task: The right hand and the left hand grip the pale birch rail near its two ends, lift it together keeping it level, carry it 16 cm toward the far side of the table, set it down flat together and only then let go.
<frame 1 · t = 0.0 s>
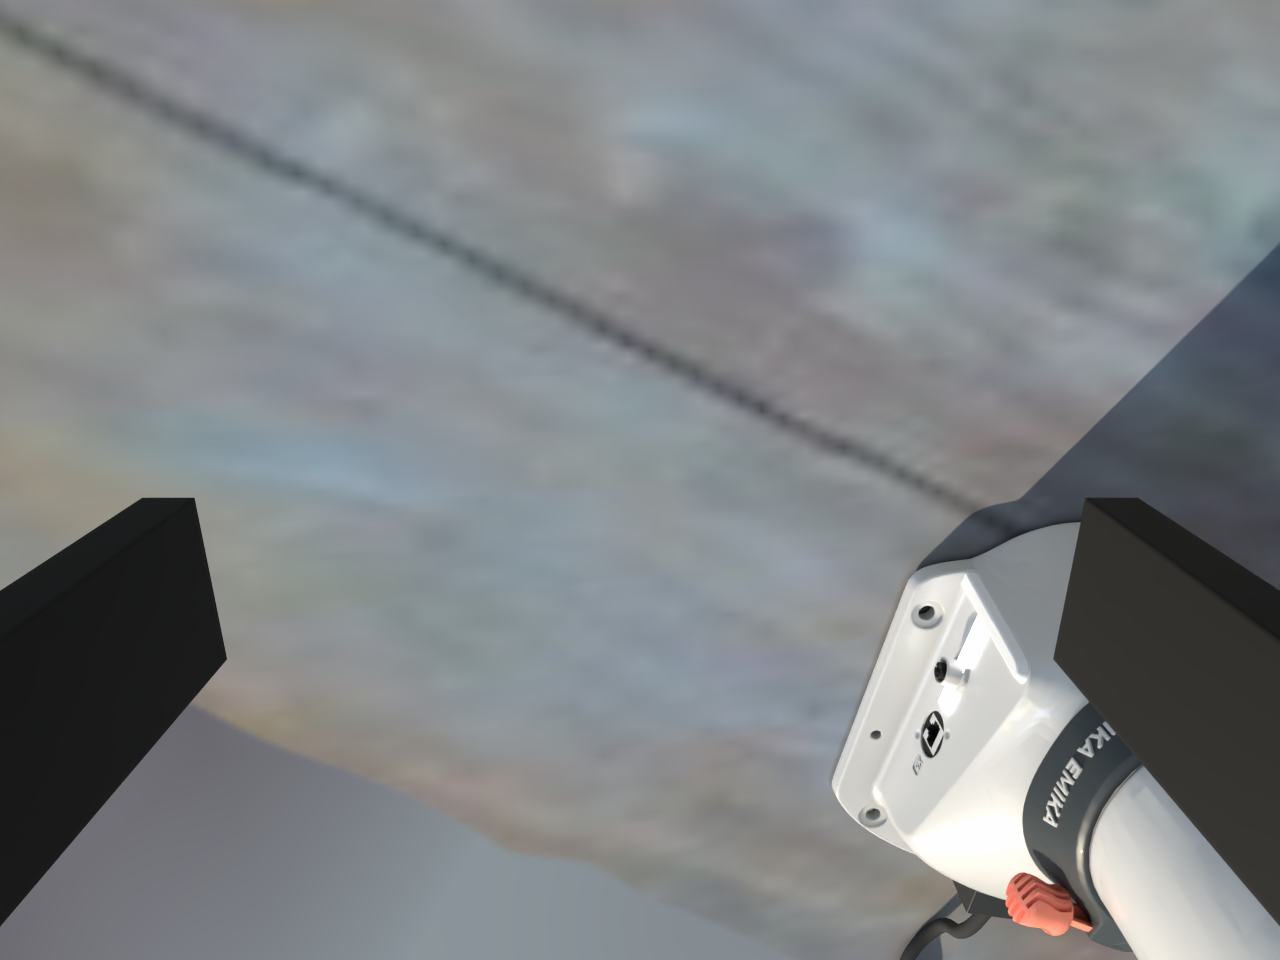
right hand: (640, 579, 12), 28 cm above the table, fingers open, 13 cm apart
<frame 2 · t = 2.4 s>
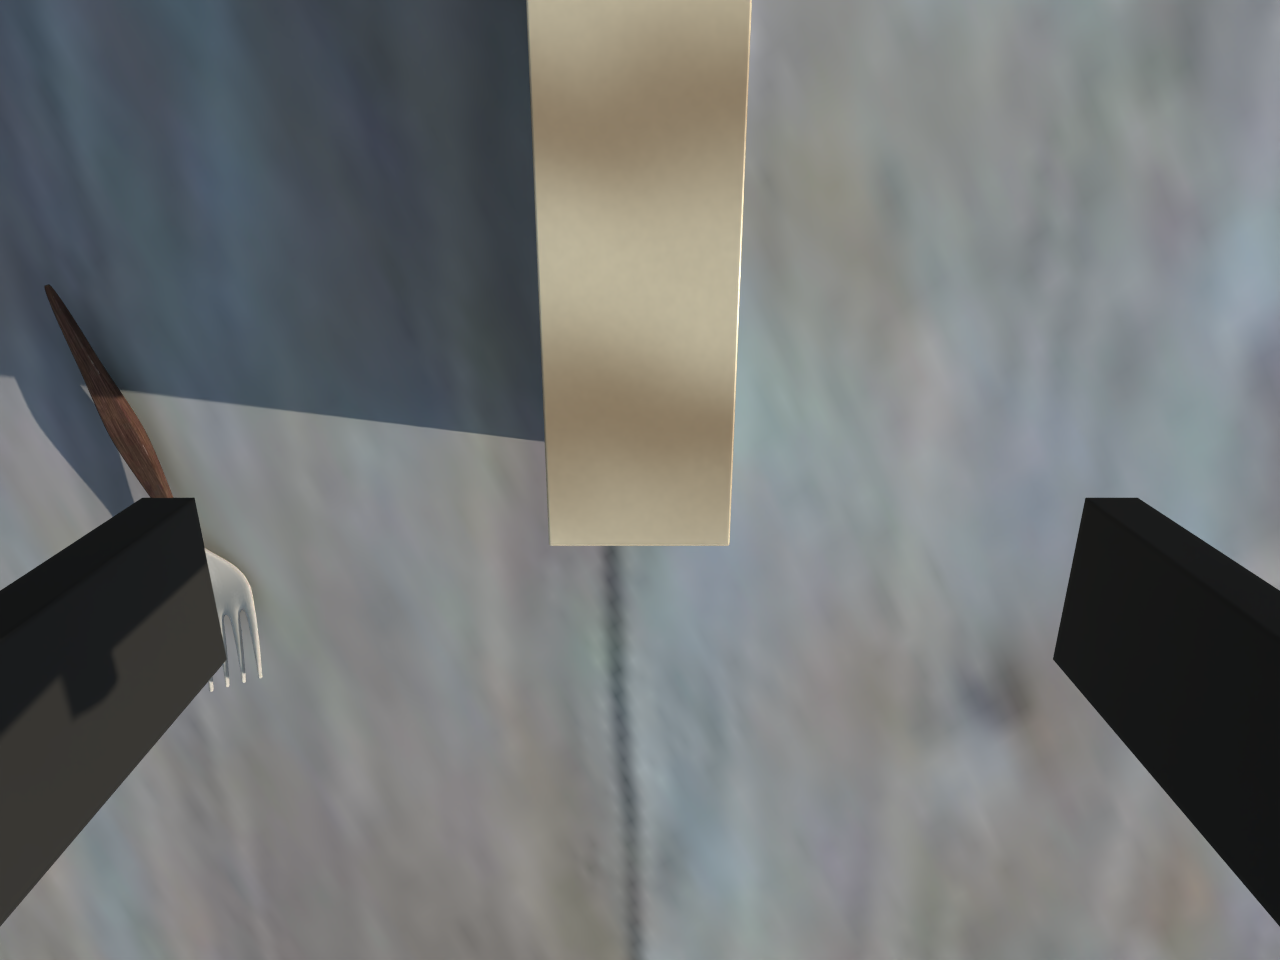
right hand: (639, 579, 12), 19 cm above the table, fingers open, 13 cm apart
fork: (168, 484, 32), on the table
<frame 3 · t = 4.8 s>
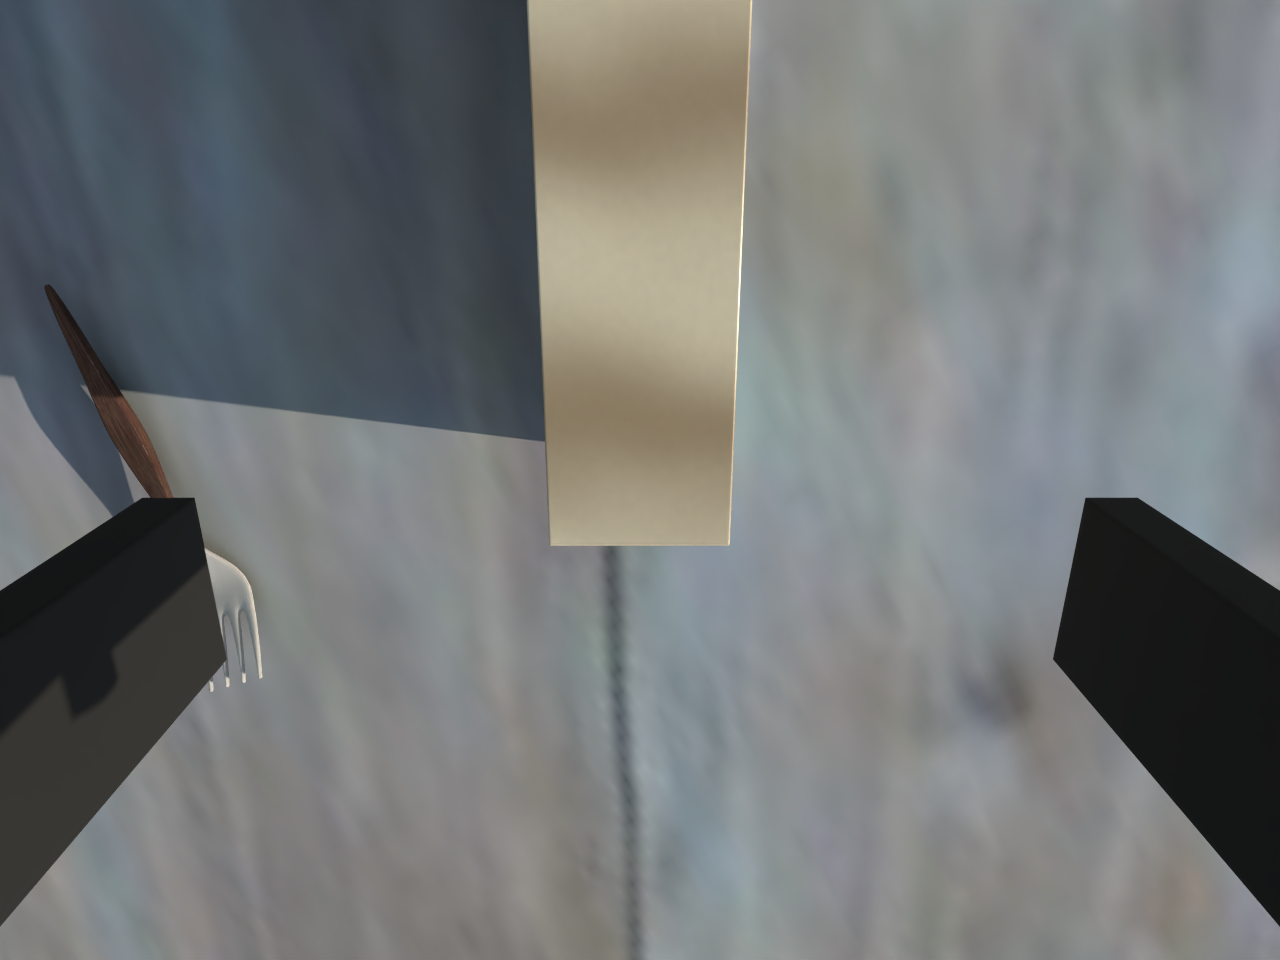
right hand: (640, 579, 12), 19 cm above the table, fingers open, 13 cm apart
fork: (168, 484, 32), on the table
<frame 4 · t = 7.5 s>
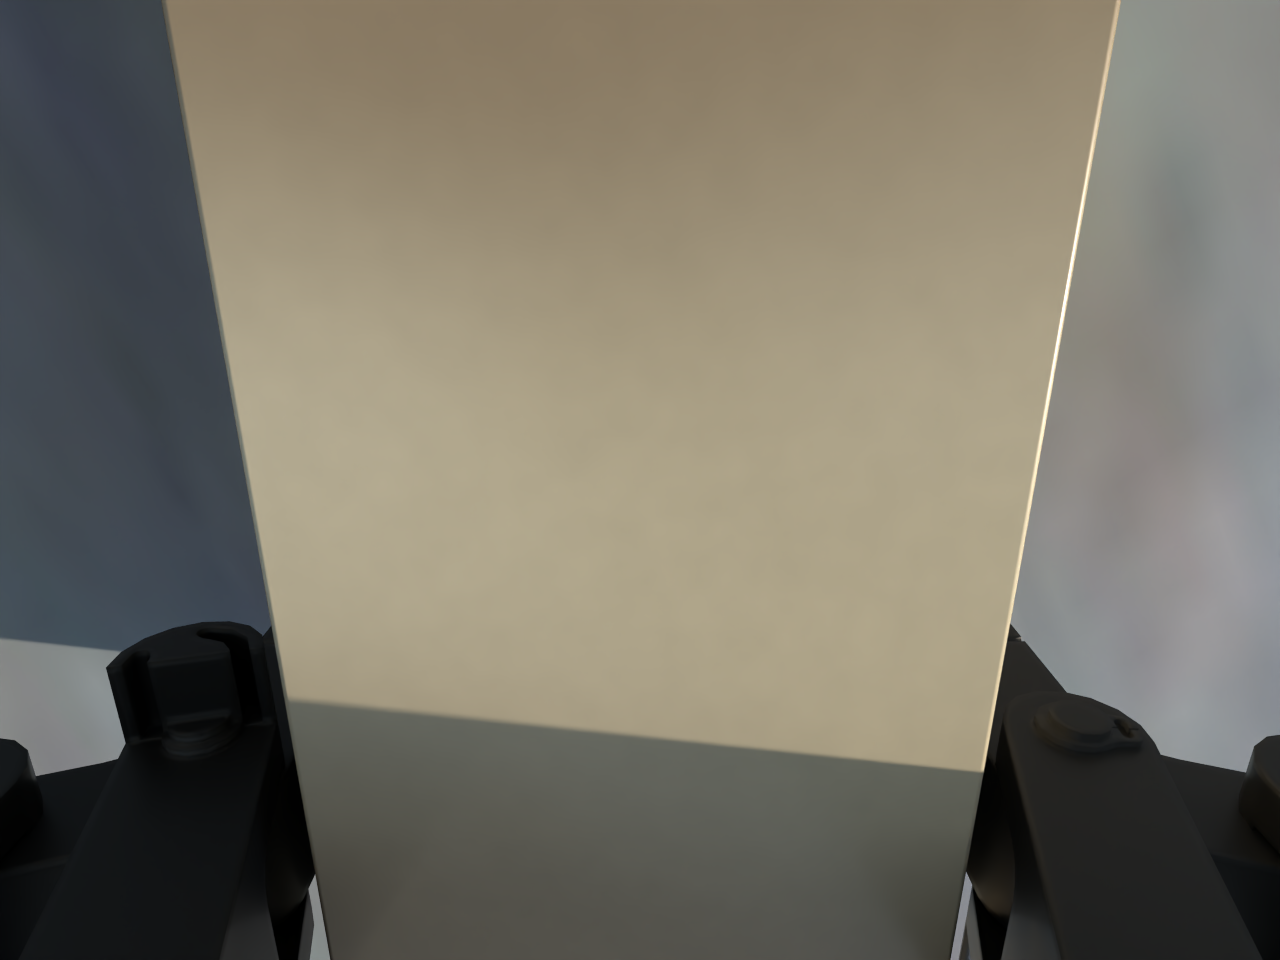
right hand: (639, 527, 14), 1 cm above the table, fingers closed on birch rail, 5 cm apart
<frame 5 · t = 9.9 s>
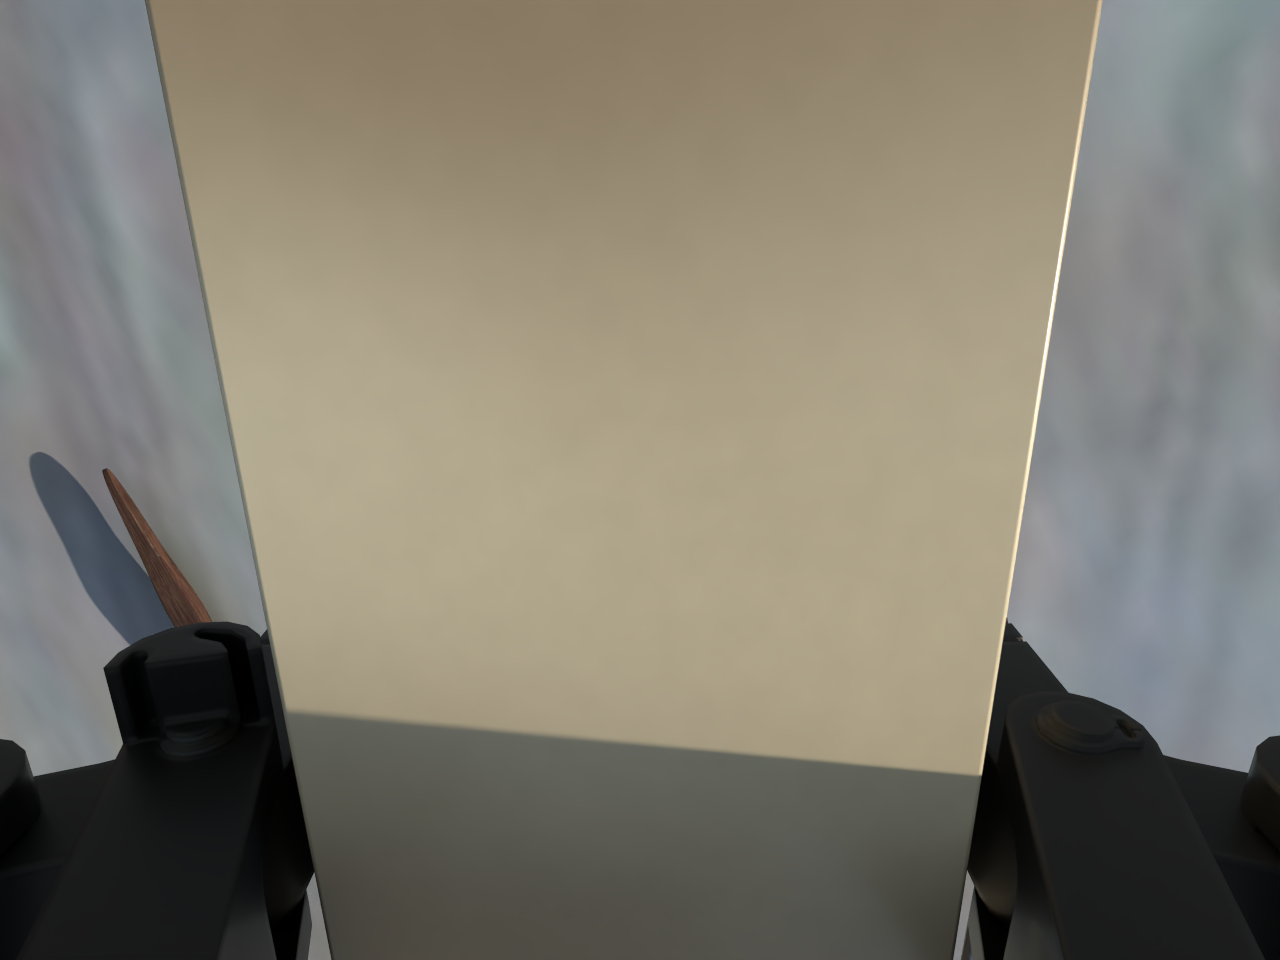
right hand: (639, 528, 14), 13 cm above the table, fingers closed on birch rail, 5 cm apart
fork: (228, 658, 30), on the table
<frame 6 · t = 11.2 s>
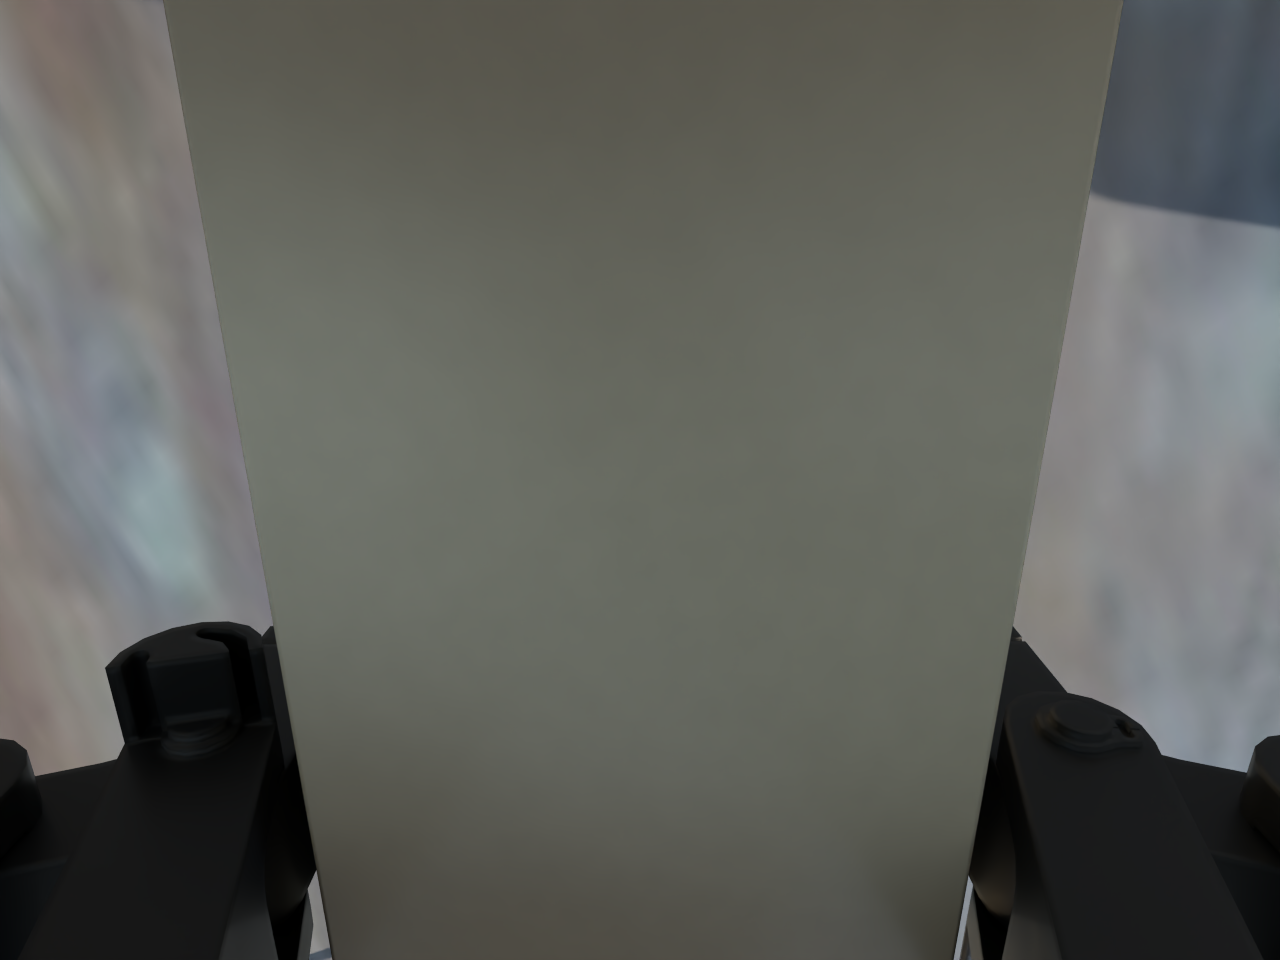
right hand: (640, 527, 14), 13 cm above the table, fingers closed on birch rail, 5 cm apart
when the right hand's fingers open (1 cm above the table, at t = 14.9 s): birch rail stays where it is, on the table.
when the left hand's fingers open (4 cm above the table, at t = 15.1 s): birch rail stays where it is, on the table.
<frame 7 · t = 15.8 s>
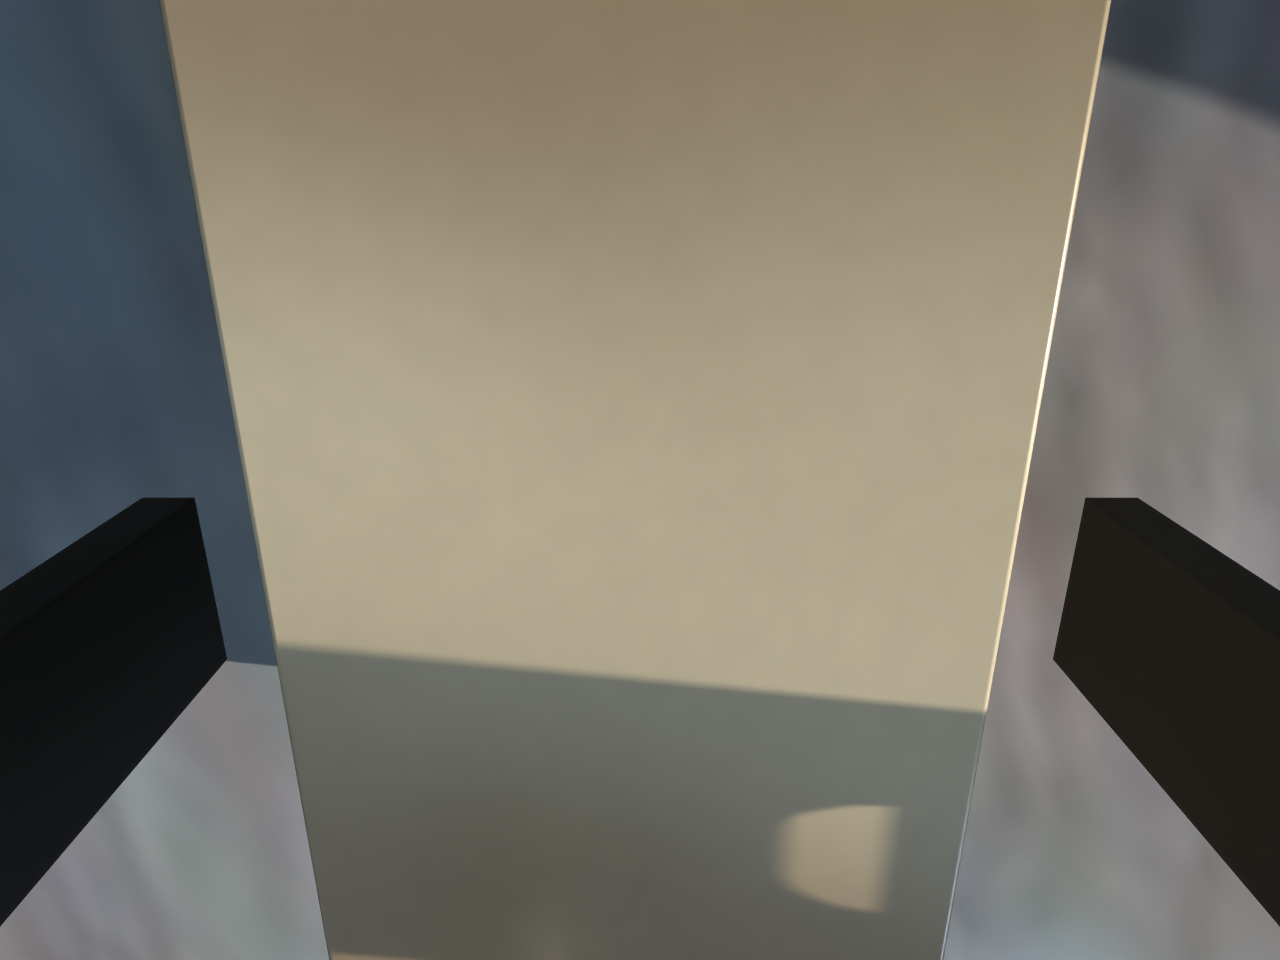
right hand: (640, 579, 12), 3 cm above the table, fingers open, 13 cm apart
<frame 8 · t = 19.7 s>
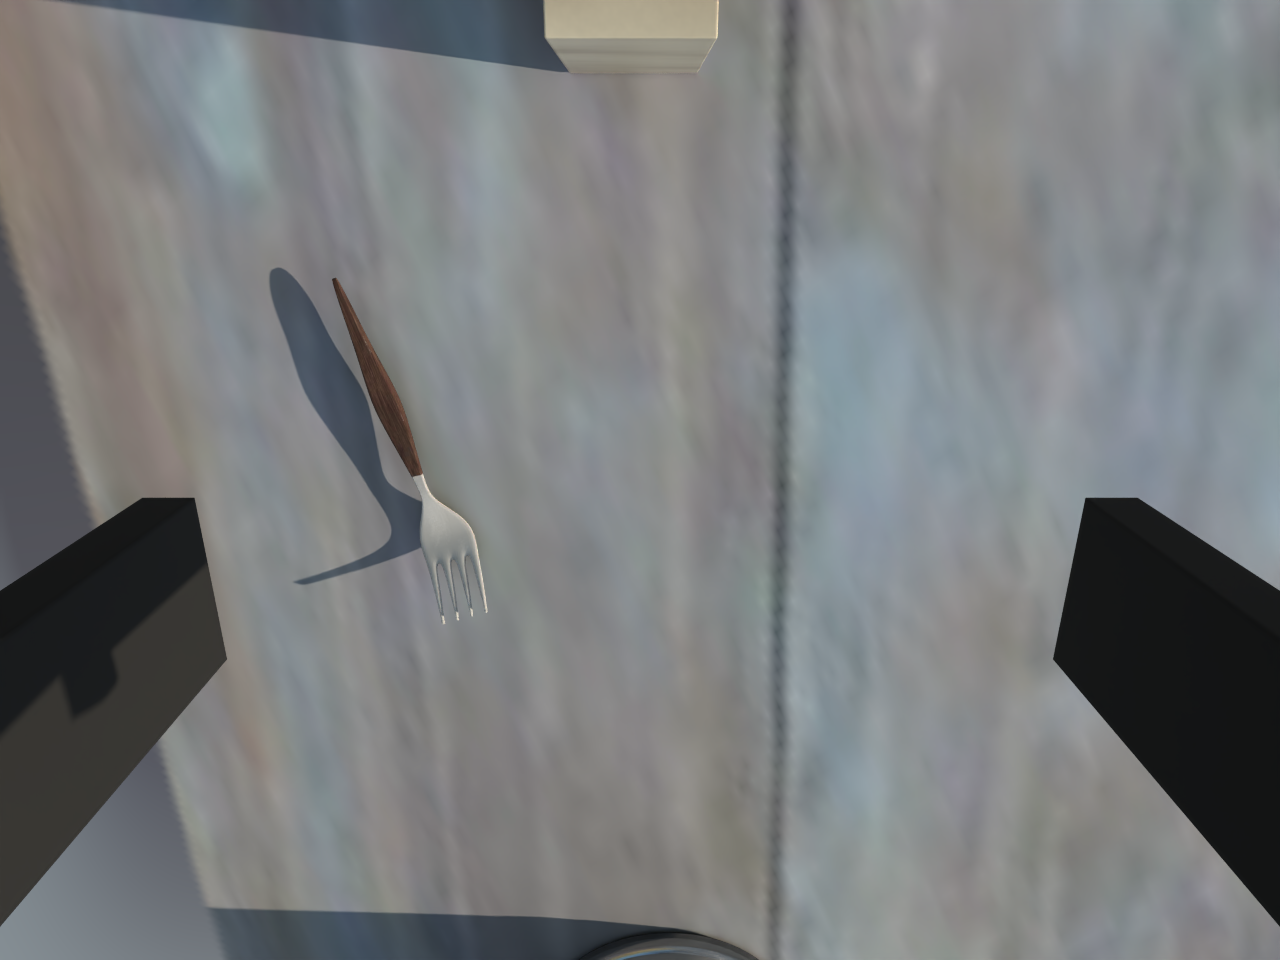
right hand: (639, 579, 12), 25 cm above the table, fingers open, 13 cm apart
fork: (411, 447, 38), on the table
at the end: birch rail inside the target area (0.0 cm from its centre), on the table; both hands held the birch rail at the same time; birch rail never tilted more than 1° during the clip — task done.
